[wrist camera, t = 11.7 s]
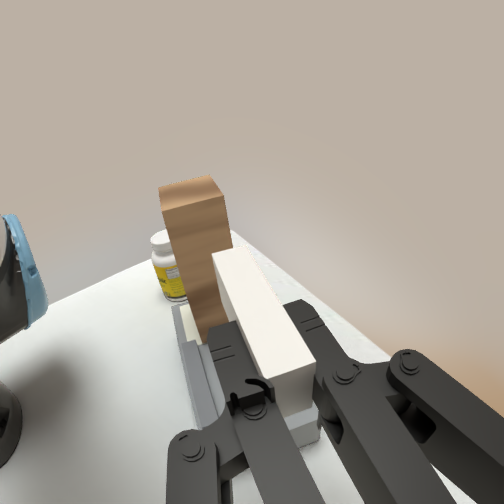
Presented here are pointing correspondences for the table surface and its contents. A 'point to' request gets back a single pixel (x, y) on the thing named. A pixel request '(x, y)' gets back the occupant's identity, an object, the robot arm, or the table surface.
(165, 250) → the supplement bottle
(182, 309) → the grey stand base
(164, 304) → the table surface
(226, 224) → the block
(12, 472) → the table surface
